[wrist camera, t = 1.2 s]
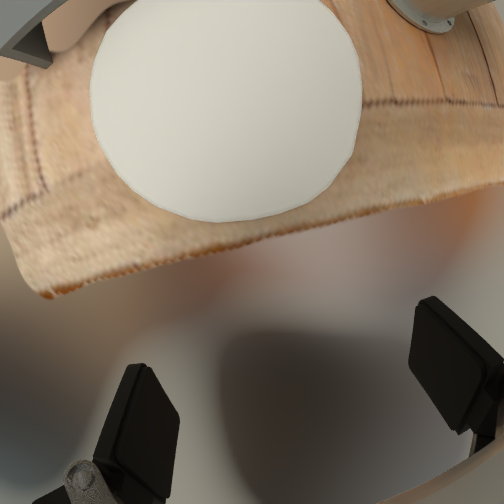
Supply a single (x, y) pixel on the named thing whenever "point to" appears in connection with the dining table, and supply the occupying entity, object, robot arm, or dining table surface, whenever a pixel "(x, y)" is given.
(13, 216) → the dining table surface
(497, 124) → the dining table surface
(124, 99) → the plate
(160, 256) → the dining table surface
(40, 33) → the shelf
